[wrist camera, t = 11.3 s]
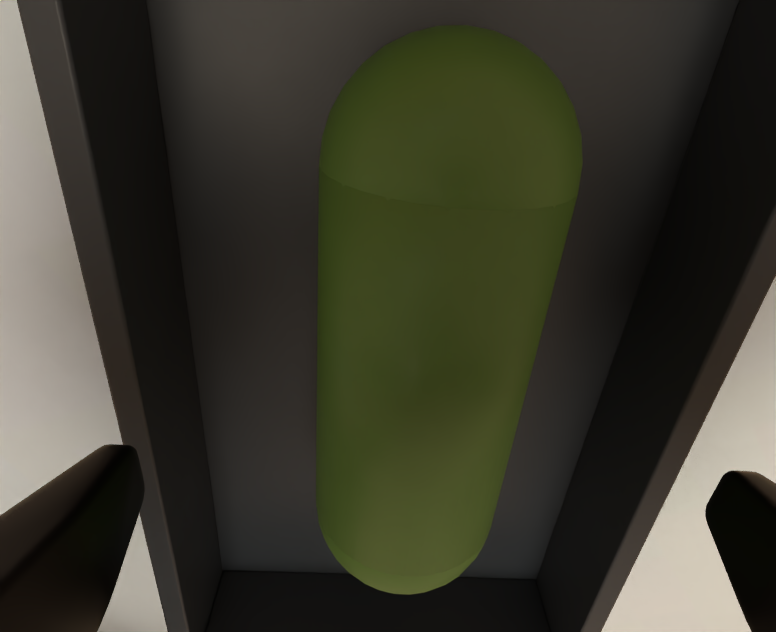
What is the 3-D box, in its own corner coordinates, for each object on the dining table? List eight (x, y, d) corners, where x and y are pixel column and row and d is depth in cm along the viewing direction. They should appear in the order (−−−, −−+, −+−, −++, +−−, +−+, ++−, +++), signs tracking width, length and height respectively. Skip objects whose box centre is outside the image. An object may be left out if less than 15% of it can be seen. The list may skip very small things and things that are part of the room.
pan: (210, 569, 18) (177, 674, 15) (62, -402, 7) (-155, -702, 4) (545, 579, 19) (577, 682, 16) (865, -299, 8) (1161, -502, 5)
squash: (316, 489, 15) (312, 641, 11) (321, 16, 9) (317, 5, 6) (458, 485, 16) (498, 629, 12) (549, 36, 10) (687, 39, 6)
